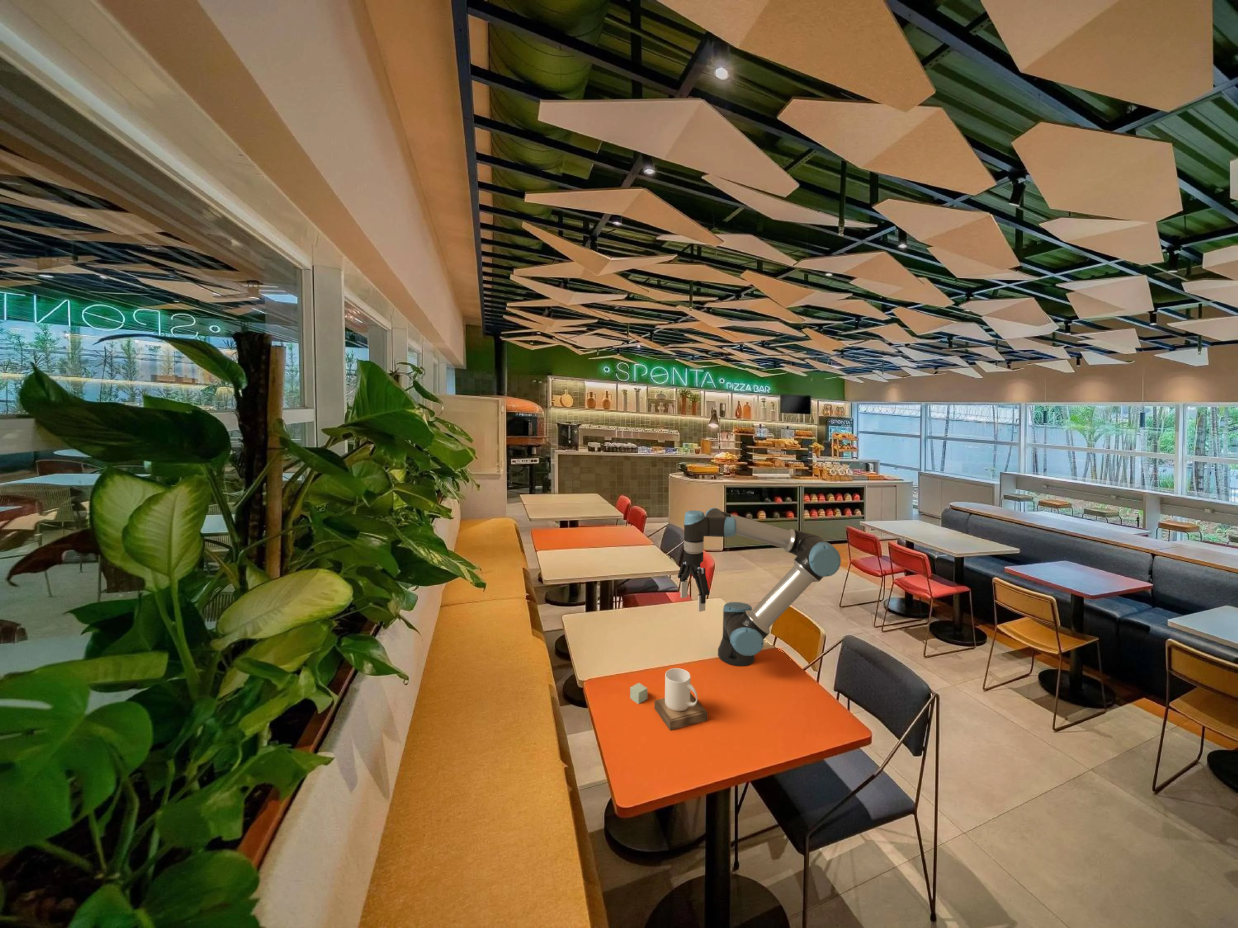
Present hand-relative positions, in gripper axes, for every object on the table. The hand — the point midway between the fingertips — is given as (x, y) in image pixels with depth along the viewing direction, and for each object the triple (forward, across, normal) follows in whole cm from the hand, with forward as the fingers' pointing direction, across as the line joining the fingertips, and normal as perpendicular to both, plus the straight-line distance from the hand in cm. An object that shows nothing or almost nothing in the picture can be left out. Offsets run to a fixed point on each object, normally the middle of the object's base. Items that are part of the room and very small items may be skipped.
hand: (692, 603), depth 182 cm
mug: (+26, +21, -16) cm, 37 cm away
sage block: (+29, +8, -26) cm, 40 cm away
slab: (+29, +21, -16) cm, 39 cm away
